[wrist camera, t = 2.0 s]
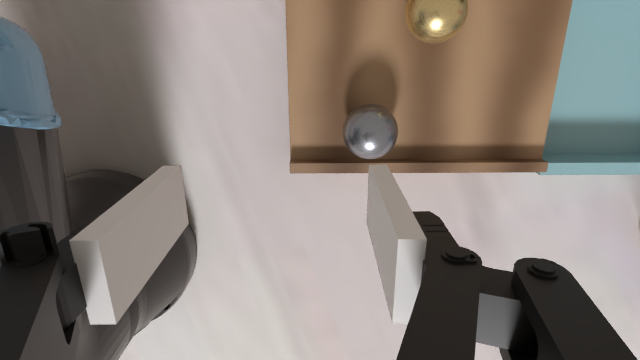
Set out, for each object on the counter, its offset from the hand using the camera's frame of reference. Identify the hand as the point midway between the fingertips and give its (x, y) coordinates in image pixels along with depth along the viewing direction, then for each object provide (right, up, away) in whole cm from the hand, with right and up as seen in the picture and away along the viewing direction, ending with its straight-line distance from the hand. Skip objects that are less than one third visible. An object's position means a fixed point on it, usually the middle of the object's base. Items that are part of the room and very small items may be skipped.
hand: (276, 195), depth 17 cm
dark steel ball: (+5, +4, +12) cm, 13 cm away
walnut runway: (+9, +10, +15) cm, 20 cm away
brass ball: (+9, +12, +9) cm, 17 cm away
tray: (+25, +10, +15) cm, 31 cm away
